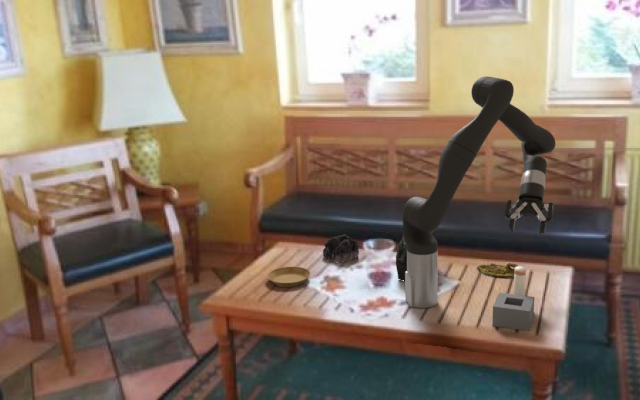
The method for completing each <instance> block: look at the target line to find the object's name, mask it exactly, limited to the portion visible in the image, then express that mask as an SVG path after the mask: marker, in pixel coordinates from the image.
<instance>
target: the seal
mask: <svg viewBox="0 0 640 400" xmlns="http://www.w3.org/2000/svg"><path fill="white" fill-rule="evenodd" d="M517 266H519V265H518V263H517V264H516V263H510V262H509V263H507V264H506V265H502V264H496V263H490V264H480V265H479V264H478V266H477V267H476V269H477V270H478V272H479V273H480V274H482V275H484V276H487V277H492V278H498V279H499V278H500V279H514V269H515V267H517Z"/></svg>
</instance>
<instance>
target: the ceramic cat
mask: <svg viewBox="0 0 640 400" xmlns="http://www.w3.org/2000/svg"><path fill="white" fill-rule="evenodd" d="M438 232H439V230H438V227H437V228H436V229H435V230H434V231H432V232H431V234H432V235H433V237H434V238H435V239H436V237H437V235H438ZM395 266H396V267H395V268H396V272H397V279H401V280H404V281H405V272H406V271H407V245H406V243H405V240H404V234H402V237H401V240H400V242H399V243H398V246H397V250H396V255H395Z"/></svg>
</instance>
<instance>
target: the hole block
mask: <svg viewBox="0 0 640 400" xmlns="http://www.w3.org/2000/svg"><path fill="white" fill-rule="evenodd" d="M534 315H535V296H530V295H529V296H528V295H525V296H523V295H515V294H514V293H506V292H498V294H497V297H496V298H495V301H494V303H493V305H492V325H491V326H493V327H496V328H505V329H513V330H520V331H527V332H529V331H530V329H531V327H532V322H533V319H534Z"/></svg>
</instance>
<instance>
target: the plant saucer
mask: <svg viewBox="0 0 640 400" xmlns="http://www.w3.org/2000/svg"><path fill="white" fill-rule="evenodd" d="M310 276H311V271H310V270H309V269H307V268H305V267H301V266H284V267H283V266H282V267H279V268H275V269H273V270H271V271H269V272H268V274H267V279H268V280H269V281H270V282H271V283H272V284H274V285H275V286H277V287H280V288H281V287H283V288H293V287H297V286H300V285H302V284H304V283H305V282H306V281H307V280H308V279H309V278H310Z"/></svg>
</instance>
